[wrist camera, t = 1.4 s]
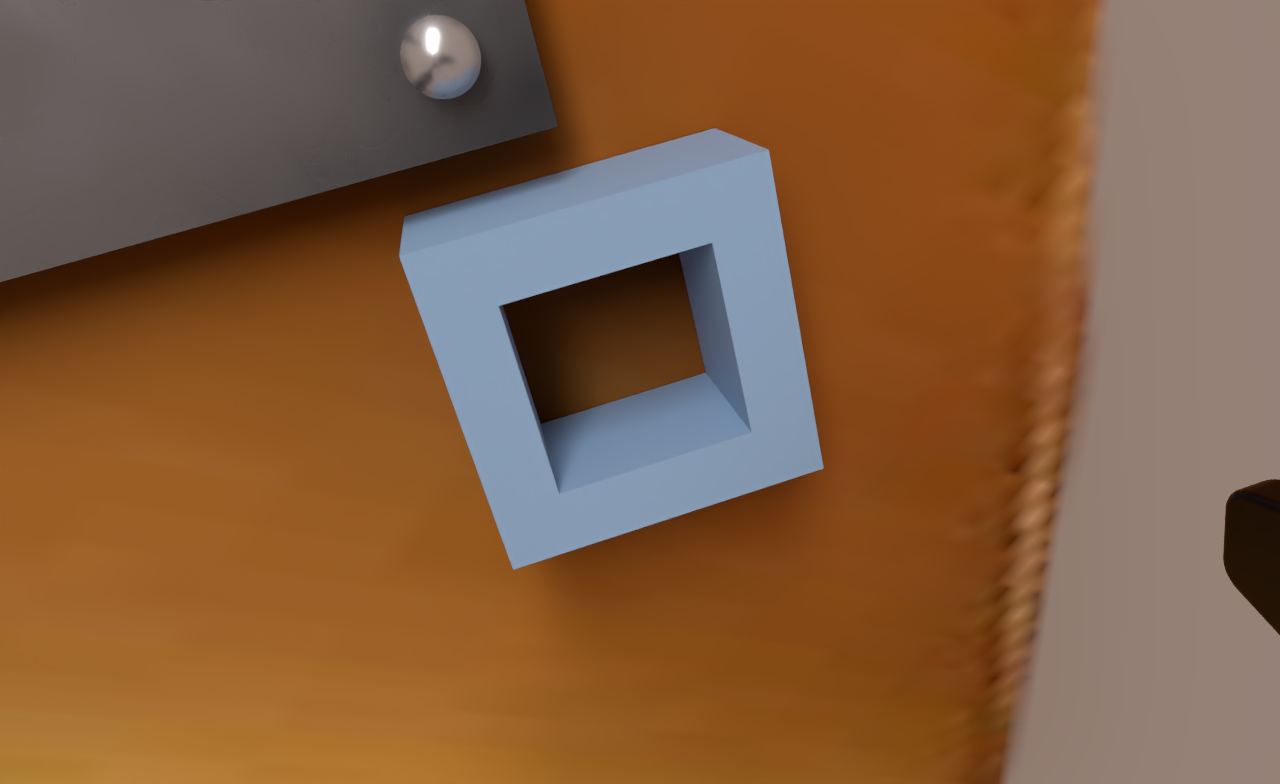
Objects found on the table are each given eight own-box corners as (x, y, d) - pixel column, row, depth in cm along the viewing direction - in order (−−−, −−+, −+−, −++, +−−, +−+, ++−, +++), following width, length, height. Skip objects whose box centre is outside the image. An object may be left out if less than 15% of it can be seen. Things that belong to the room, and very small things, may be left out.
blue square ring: (768, 405, 20) (823, 468, 17) (501, 490, 19) (513, 569, 16) (714, 128, 17) (768, 149, 14) (404, 216, 16) (399, 256, 14)
